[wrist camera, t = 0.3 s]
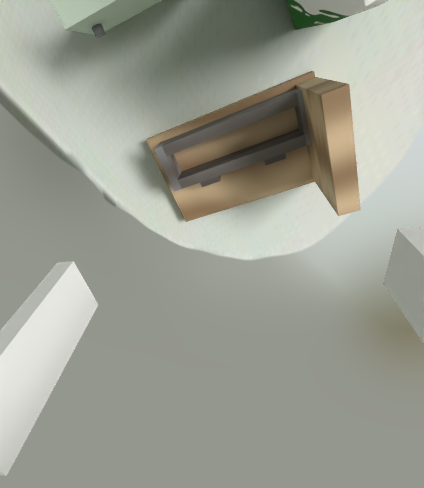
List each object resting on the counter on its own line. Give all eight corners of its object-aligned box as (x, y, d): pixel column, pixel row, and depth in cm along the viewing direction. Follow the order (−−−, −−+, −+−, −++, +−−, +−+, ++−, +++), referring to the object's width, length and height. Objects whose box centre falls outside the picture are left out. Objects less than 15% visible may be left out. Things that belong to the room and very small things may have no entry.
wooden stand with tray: (148, 138, 34) (117, 167, 25) (311, 71, 29) (348, 76, 20) (187, 217, 40) (173, 265, 31) (326, 173, 35) (360, 214, 26)
